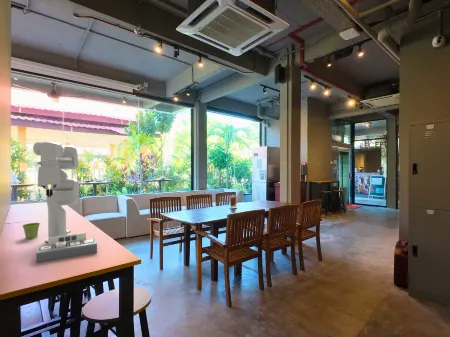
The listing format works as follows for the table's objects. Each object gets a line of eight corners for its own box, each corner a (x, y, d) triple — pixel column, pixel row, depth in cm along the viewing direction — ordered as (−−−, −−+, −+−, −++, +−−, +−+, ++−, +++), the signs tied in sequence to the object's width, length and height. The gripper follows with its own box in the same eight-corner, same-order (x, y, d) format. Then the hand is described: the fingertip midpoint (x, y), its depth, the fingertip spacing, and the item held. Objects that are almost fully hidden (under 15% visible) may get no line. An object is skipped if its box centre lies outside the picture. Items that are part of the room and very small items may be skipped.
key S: (55, 250, 131) (55, 244, 131) (55, 248, 135) (55, 242, 135) (66, 249, 134) (66, 243, 134) (65, 246, 137) (65, 241, 137)
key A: (40, 255, 127) (40, 249, 127) (41, 252, 131) (40, 247, 131) (51, 253, 130) (51, 247, 130) (51, 251, 134) (51, 245, 134)
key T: (84, 248, 138) (83, 242, 138) (83, 246, 142) (83, 240, 142) (93, 246, 141) (93, 241, 141) (92, 244, 145) (92, 239, 145)
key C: (70, 250, 135) (70, 245, 135) (69, 248, 139) (69, 242, 138) (80, 249, 137) (80, 243, 137) (79, 246, 141) (79, 241, 141)
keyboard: (36, 262, 124) (36, 245, 123) (38, 255, 134) (37, 238, 133) (97, 252, 139) (96, 236, 138) (94, 246, 149) (94, 231, 148)
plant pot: (28, 240, 160) (28, 226, 160) (18, 238, 163) (18, 225, 163) (43, 236, 169) (43, 223, 168) (33, 234, 172) (33, 222, 171)
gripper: (31, 164, 131) (32, 198, 132) (65, 164, 140) (65, 196, 140) (32, 164, 138) (33, 196, 138) (64, 163, 146) (65, 195, 147)
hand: (49, 196), depth 139 cm, fingers closed
